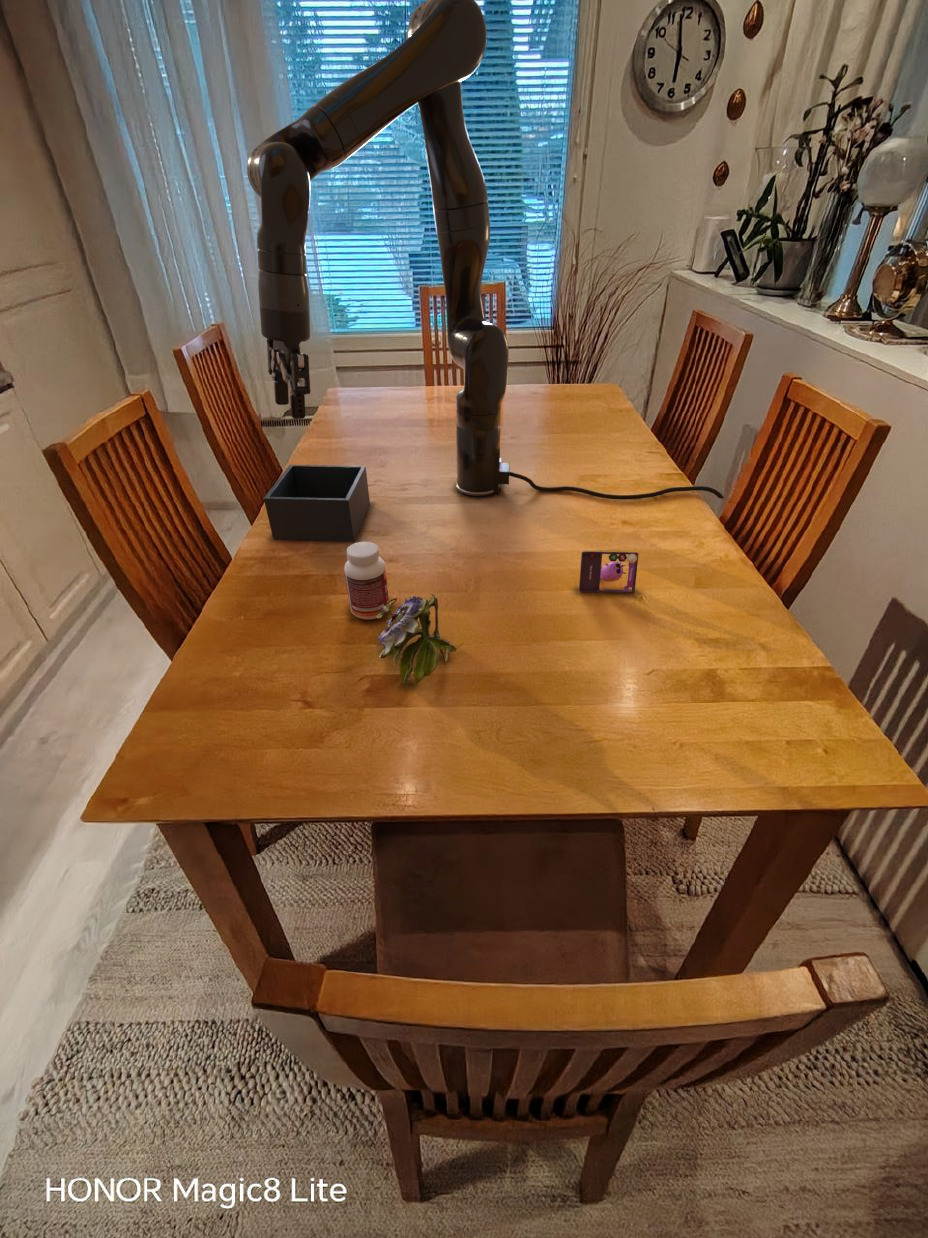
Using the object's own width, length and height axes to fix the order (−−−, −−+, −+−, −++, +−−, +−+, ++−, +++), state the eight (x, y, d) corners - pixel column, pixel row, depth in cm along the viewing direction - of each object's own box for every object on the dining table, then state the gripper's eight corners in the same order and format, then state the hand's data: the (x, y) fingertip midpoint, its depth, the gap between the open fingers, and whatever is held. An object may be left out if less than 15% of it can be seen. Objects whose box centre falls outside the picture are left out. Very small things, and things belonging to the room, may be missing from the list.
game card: (582, 552, 94) (639, 553, 94) (578, 546, 99) (632, 547, 99) (579, 593, 96) (635, 594, 96) (575, 585, 101) (628, 586, 101)
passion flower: (395, 679, 88) (384, 600, 88) (466, 670, 87) (455, 589, 87) (373, 691, 77) (360, 601, 77) (453, 682, 76) (441, 589, 75)
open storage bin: (370, 504, 123) (365, 465, 118) (354, 541, 111) (348, 500, 106) (297, 502, 124) (289, 464, 119) (273, 539, 112) (263, 498, 107)
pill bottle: (396, 612, 93) (391, 552, 86) (361, 626, 90) (352, 564, 83) (378, 594, 97) (372, 535, 90) (344, 606, 94) (334, 546, 88)
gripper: (324, 313, 89) (326, 422, 98) (293, 299, 98) (297, 399, 107) (274, 311, 85) (281, 424, 94) (247, 296, 95) (255, 400, 104)
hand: (289, 410), depth 101 cm, fingers open, 8 cm apart
